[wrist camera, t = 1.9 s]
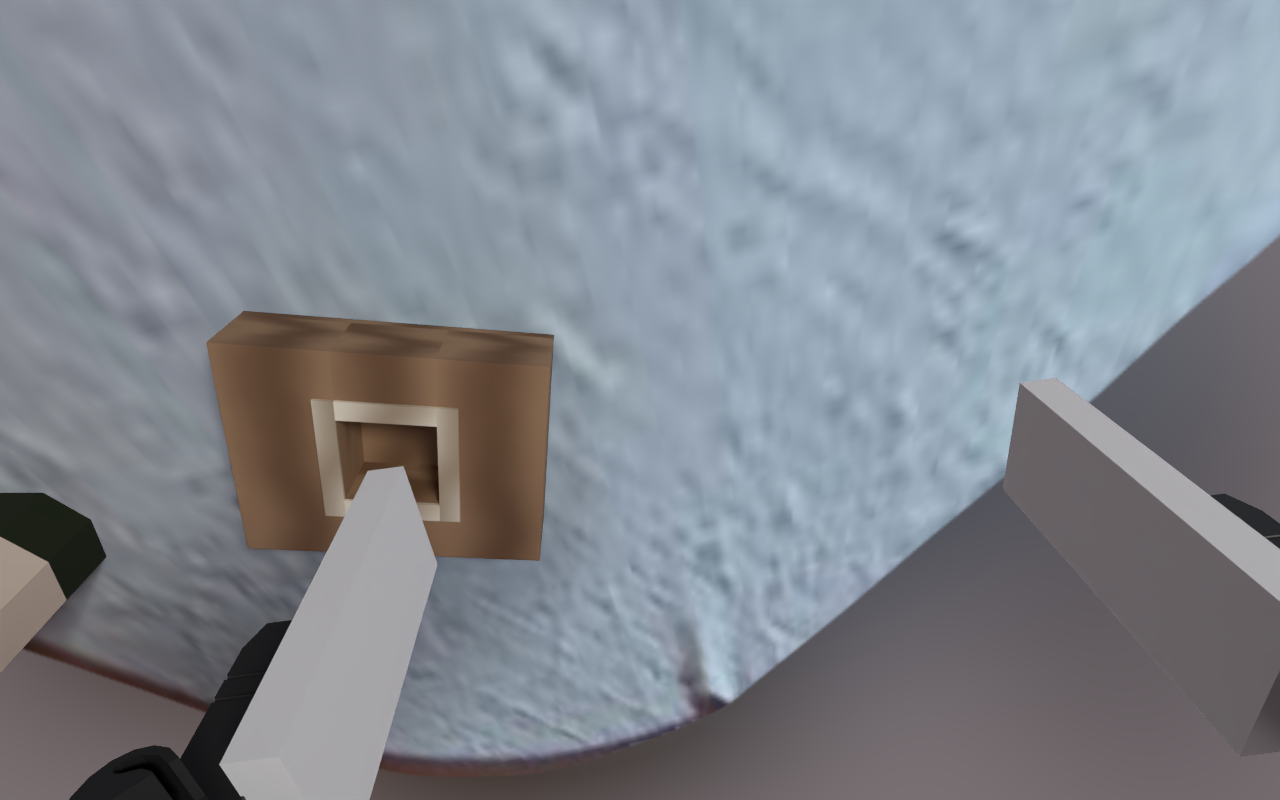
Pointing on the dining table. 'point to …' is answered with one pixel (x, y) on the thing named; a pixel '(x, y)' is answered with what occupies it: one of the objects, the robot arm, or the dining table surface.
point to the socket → (385, 427)
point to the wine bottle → (39, 564)
